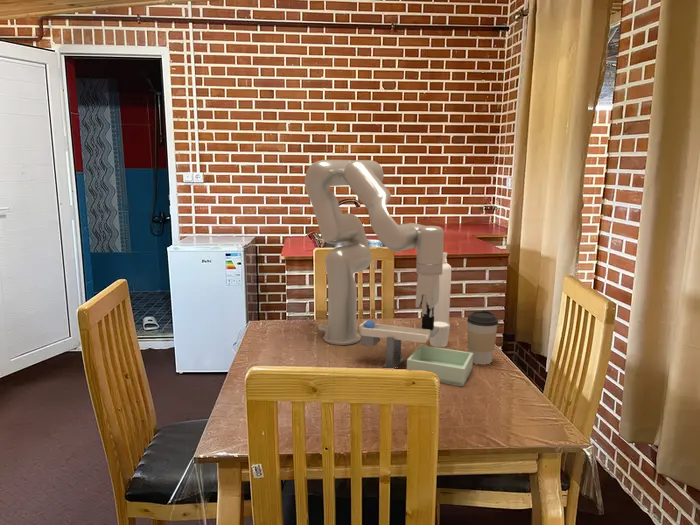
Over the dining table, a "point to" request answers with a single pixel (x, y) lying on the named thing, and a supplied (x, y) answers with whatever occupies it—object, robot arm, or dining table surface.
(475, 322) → the coffee cup
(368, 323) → the ball
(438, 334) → the shot glass
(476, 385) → the dining table surface
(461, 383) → the bin
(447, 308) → the bottle
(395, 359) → the lever stand
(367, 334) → the lever
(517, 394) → the dining table surface
